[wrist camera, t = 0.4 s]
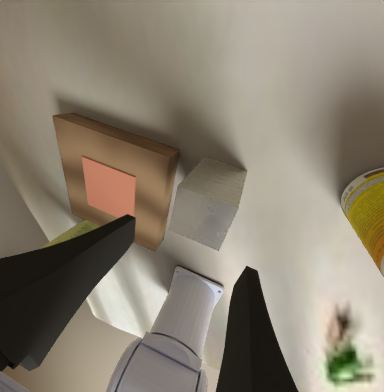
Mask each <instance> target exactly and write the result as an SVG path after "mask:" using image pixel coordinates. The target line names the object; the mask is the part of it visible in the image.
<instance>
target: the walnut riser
mask: <svg viewBox="0 0 384 392" xmlns="http://www.w3.org/2000/svg"><path fill="white" fill-rule="evenodd" d="M53 121H54V126H55V131H56V136H57V141H58V145H59V150H60V155H61V160H62V165H63V170H64V175H65V180H66V185H67V190H68V195H69V200H70V205H71V210H72V214H74V215H77V216H79V217H81V218H83V219H85V220H88V221H90V222H92V223H94V224H96V225H98V226H103V225H105V224H107V223H109V222H111V221H114V220H116V219H118V218H120V217H122V216H124V215H126V214H129V215H131V216H133V217H136V224H135V239H134V241H133V242H135V243H138V244H140V245H142V246H144V247H146V248H148V249H151V250H153V251H156V249H157V248H158V246H159V245H160V244H161V242H162V241H163V239H164V233H165V228H166V222H167V217H168V212H169V206H170V201H171V195H172V190H173V185H174V179H175V174H176V168H177V163H178V158H179V152H180V150H177V149H175V148H172V147H169V146H166V145H163V144H160V143H157V142H154V141H151V140H149V139H146V138H143V137H140V136H137V135H134V134H131V133H128V132H126V131H123V130H120V129H117V128H114V127H111V126H108V125H105V124H103V123H100V122H97V121H94V120H91V119H88V118H85V117H82V116H80V115H77V114H74V113H69V114H61V115H53Z"/></svg>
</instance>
